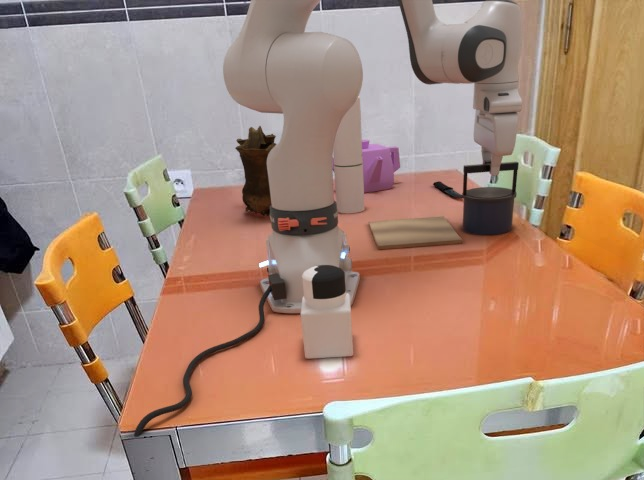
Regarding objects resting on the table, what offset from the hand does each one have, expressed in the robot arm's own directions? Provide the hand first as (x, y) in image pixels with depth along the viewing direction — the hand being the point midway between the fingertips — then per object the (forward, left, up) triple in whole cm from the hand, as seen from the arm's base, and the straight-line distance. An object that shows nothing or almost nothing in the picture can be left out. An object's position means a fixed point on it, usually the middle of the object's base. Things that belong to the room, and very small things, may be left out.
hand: (490, 172), depth 140 cm
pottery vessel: (+30, +51, -12) cm, 60 cm away
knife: (+36, +1, -12) cm, 38 cm away
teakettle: (+50, +23, -12) cm, 56 cm away
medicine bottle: (-58, +39, -12) cm, 71 cm away
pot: (0, 0, -12) cm, 12 cm away
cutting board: (0, +17, -12) cm, 21 cm away
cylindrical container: (+26, +29, -12) cm, 41 cm away
